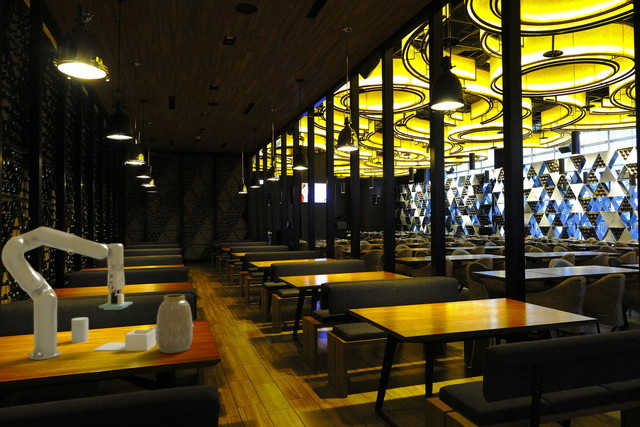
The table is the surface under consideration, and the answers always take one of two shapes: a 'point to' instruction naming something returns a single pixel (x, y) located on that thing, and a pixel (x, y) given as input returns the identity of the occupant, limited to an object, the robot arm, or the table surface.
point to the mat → (112, 346)
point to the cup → (79, 330)
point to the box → (140, 340)
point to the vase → (174, 324)
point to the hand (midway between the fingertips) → (115, 302)
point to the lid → (118, 306)
